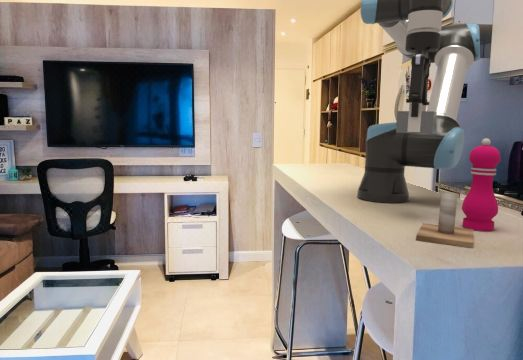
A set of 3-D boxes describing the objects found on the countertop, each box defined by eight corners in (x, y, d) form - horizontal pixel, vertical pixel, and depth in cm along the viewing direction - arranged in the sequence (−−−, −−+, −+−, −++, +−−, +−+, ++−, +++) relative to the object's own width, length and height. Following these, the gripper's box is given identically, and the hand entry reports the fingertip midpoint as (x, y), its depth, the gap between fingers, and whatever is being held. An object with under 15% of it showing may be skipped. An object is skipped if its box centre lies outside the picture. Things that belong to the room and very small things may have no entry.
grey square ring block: (401, 132, 107) (402, 112, 106) (435, 133, 103) (436, 112, 102) (396, 132, 99) (397, 111, 99) (432, 133, 96) (434, 111, 95)
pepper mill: (501, 233, 90) (510, 139, 88) (464, 230, 92) (473, 138, 89) (490, 225, 97) (498, 138, 95) (456, 223, 99) (464, 137, 96)
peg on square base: (422, 227, 93) (425, 187, 92) (472, 233, 89) (476, 191, 88) (415, 240, 82) (419, 194, 81) (472, 248, 78) (477, 200, 77)
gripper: (412, 42, 109) (405, 131, 112) (399, 24, 91) (392, 131, 94) (443, 40, 106) (436, 132, 109) (437, 22, 87) (428, 132, 90)
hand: (416, 131), depth 101 cm, fingers closed on grey square ring block, 8 cm apart
